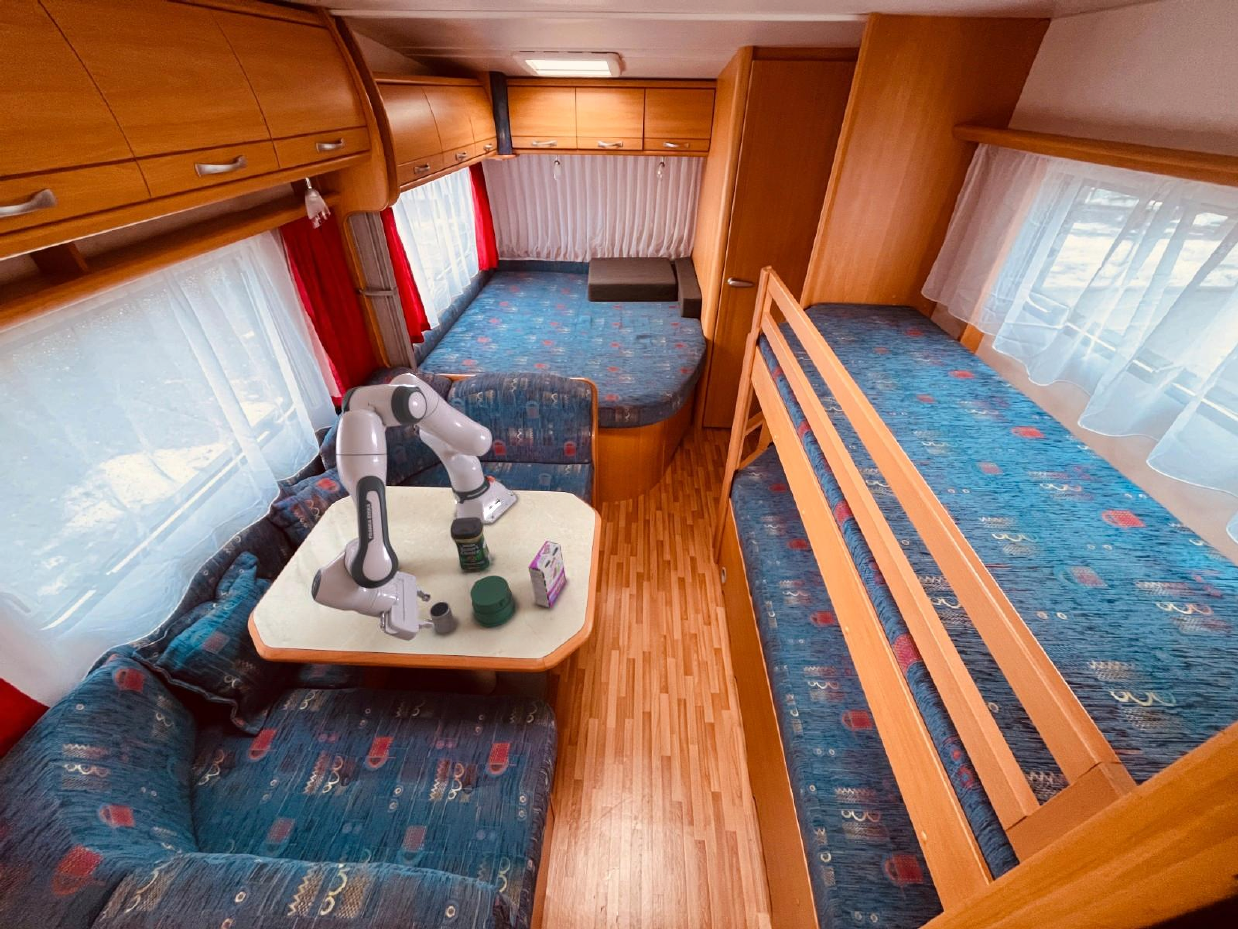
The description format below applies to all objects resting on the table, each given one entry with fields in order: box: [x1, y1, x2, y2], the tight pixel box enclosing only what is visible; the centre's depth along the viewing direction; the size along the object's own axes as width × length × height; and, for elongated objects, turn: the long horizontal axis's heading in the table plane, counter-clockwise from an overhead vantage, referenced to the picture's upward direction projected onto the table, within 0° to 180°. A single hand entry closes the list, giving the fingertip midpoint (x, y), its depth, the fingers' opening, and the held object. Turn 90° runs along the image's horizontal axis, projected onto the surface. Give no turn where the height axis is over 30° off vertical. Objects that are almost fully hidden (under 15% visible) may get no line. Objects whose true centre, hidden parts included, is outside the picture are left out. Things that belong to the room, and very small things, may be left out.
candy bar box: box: [527, 540, 567, 609], centre depth 138 cm, size 11×5×16 cm, turn 160°
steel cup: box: [428, 600, 457, 635], centre depth 132 cm, size 5×5×8 cm
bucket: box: [469, 575, 517, 628], centre depth 136 cm, size 12×12×9 cm
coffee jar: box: [449, 517, 492, 573], centre depth 148 cm, size 10×8×19 cm
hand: (430, 611), depth 129 cm, fingers open, 8 cm apart
